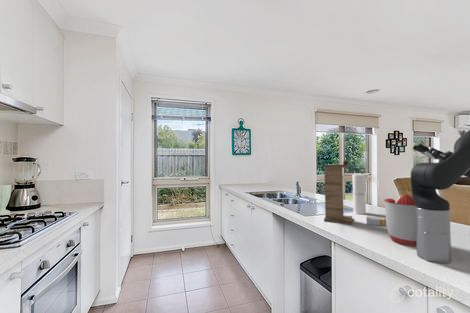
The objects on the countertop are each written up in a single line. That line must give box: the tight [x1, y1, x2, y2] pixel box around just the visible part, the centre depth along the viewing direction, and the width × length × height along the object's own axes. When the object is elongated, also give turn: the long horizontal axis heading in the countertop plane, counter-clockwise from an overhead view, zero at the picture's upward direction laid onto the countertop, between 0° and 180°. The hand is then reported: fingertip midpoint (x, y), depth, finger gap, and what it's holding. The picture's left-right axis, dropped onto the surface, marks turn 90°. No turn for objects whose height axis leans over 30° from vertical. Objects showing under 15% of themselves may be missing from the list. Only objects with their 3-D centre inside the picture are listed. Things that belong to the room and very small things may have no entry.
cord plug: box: [365, 216, 387, 227], centre depth 120 cm, size 20×5×3 cm, turn 61°
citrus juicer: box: [384, 193, 417, 247], centre depth 97 cm, size 16×17×20 cm
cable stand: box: [323, 160, 353, 225], centre depth 132 cm, size 13×14×34 cm
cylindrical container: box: [351, 173, 367, 215], centre depth 149 cm, size 7×7×25 cm
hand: (415, 146), depth 110 cm, fingers open, 8 cm apart
